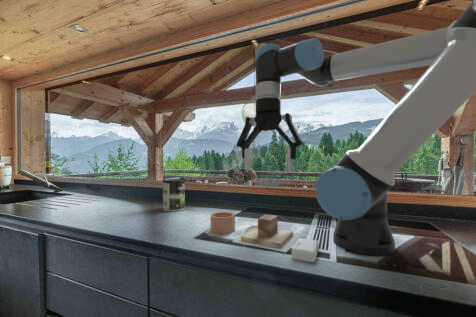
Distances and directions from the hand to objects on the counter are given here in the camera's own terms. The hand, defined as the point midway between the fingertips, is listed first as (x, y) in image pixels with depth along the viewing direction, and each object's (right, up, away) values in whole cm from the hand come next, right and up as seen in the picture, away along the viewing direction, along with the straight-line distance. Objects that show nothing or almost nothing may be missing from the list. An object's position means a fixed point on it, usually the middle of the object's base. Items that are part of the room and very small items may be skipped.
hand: (267, 170), depth 70 cm
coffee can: (-40, -21, +42) cm, 62 cm away
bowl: (-14, -21, +8) cm, 26 cm away
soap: (+8, -21, -11) cm, 25 cm away
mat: (0, -21, 0) cm, 21 cm away
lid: (0, -20, 0) cm, 20 cm away
